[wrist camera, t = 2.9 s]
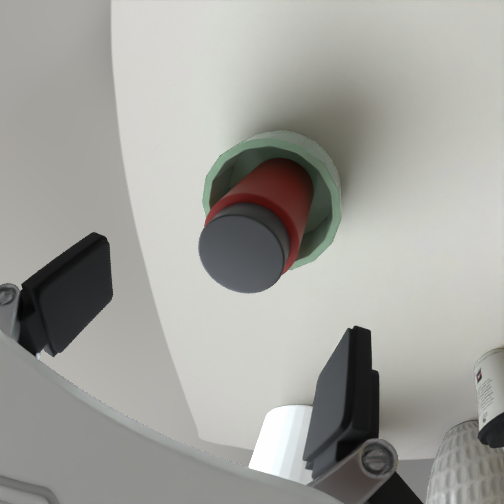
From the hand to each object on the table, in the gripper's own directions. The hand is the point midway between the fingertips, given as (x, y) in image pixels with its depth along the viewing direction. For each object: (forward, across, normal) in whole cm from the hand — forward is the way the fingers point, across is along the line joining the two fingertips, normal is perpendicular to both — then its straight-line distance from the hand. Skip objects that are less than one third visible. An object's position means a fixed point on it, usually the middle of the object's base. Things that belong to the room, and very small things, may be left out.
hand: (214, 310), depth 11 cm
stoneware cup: (+14, 0, 0) cm, 14 cm away
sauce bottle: (+13, 0, 0) cm, 13 cm away
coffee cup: (+14, -28, +10) cm, 33 cm away
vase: (+14, -36, +24) cm, 45 cm away
